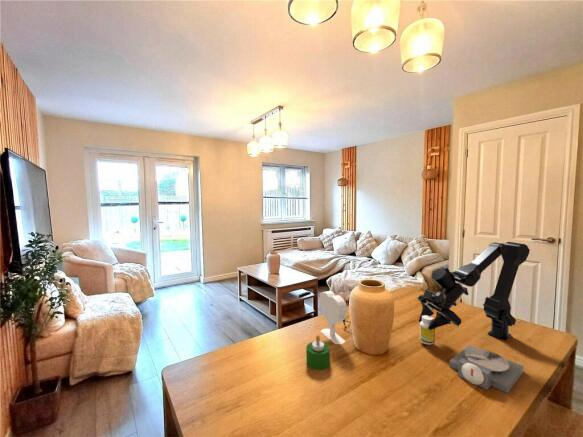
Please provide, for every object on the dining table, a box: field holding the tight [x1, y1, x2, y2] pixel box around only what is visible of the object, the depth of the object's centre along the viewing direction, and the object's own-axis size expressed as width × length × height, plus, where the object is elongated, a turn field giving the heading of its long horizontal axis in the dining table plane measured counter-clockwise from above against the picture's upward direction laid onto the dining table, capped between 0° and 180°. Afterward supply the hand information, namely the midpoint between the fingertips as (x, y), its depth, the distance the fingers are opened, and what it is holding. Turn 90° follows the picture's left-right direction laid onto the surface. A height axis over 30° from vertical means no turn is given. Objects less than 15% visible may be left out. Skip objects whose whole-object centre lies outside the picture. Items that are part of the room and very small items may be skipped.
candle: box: [305, 335, 331, 371], centre depth 95 cm, size 8×8×10 cm
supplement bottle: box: [419, 315, 436, 345], centre depth 106 cm, size 5×5×10 cm
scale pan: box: [465, 348, 509, 372], centre depth 90 cm, size 12×12×1 cm
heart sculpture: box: [319, 290, 348, 345], centre depth 113 cm, size 16×5×18 cm, turn 24°
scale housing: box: [449, 344, 525, 394], centre depth 89 cm, size 20×16×6 cm
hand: (424, 325), depth 105 cm, fingers closed on supplement bottle, 5 cm apart
